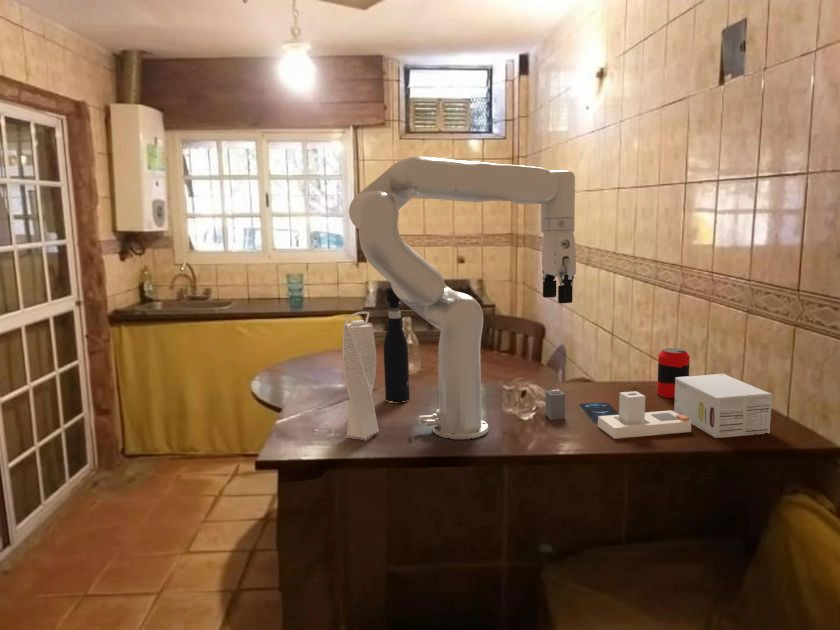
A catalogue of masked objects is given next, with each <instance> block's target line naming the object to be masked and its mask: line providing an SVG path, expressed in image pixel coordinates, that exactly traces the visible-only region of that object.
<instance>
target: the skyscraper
mask: <svg viewBox="0 0 840 630" xmlns="http://www.w3.org/2000/svg"><path fill="white" fill-rule="evenodd" d="M363 314H364V315H365V314H367V315H366V318H365V320H363V319H354V320H353V319H352V320H350V319H351V318H352V317H354V316H357V315H363ZM370 315H371V313H370V312H369V311H365V310H364V311H358V312H354V313H352V314H350V315H349V316H347V318H346V319H345V321H344V322H343V327H342V328H343V329H342V330H343V332H342V348H341V349H342V369H343V377H344V382H345V386H346V391H347V394H348V395H347V396H348V399H349V403H348V406H349V407H348V415H347V416H348V418H347V428H346V429H347V430H346V436H347V435H351V436H356V437H361V438H364V439H366V438H367V437H369V436H370V435H372V434H374V433H376V432H378V431H379V424H378V419H377V414H376V410H375V406H374V401H373V396H372V394H373V391H374V386H375V381H376V374H377V373H376V371H377V370H376V369H377V349H376V339H375V334H374V327H373V323H372V322H369V317H370ZM349 320H350V323H348V321H349ZM379 432H380V431H379Z"/></svg>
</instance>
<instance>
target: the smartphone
mask: <svg viewBox="0 0 840 630" xmlns="http://www.w3.org/2000/svg"><path fill="white" fill-rule="evenodd" d="M578 405H579V407H580V408H581V409H582V410H583V411H584V413H585V415H587V417H588V418H589V419H590V420H591V422H592V423H594V424H598V416H610V415H619V411H617V410H616V409H615V407H613V406H612V405H611V404H610V403H609V402H588V403H587V402H585V403H583V402H582V403H579V404H578Z"/></svg>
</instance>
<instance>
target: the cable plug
mask: <svg viewBox="0 0 840 630" xmlns="http://www.w3.org/2000/svg"><path fill="white" fill-rule="evenodd" d="M545 416H546V417H547V418H548V419H550V420H564V419H566V393H564V392H563V391H561V390H560V389H550V390H546V391H545Z"/></svg>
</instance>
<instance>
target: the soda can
mask: <svg viewBox="0 0 840 630" xmlns="http://www.w3.org/2000/svg"><path fill="white" fill-rule="evenodd" d="M657 356H658V357H657V358H658V359H657V361H658V362H657V382H656V383H657V385H656V386H657V388H656V393H657V395H658V396H659V397H661V398H664V397H665V398H664V399H670V398H675V378H676V377H685V376H690V361H691V359H690V358H691V357H690V355H689V353H688V351H686V349H683V348H676V347H668V348H667V347H666V348H663V349H662V350H661V351H660V352H659V354H658V355H657Z"/></svg>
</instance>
